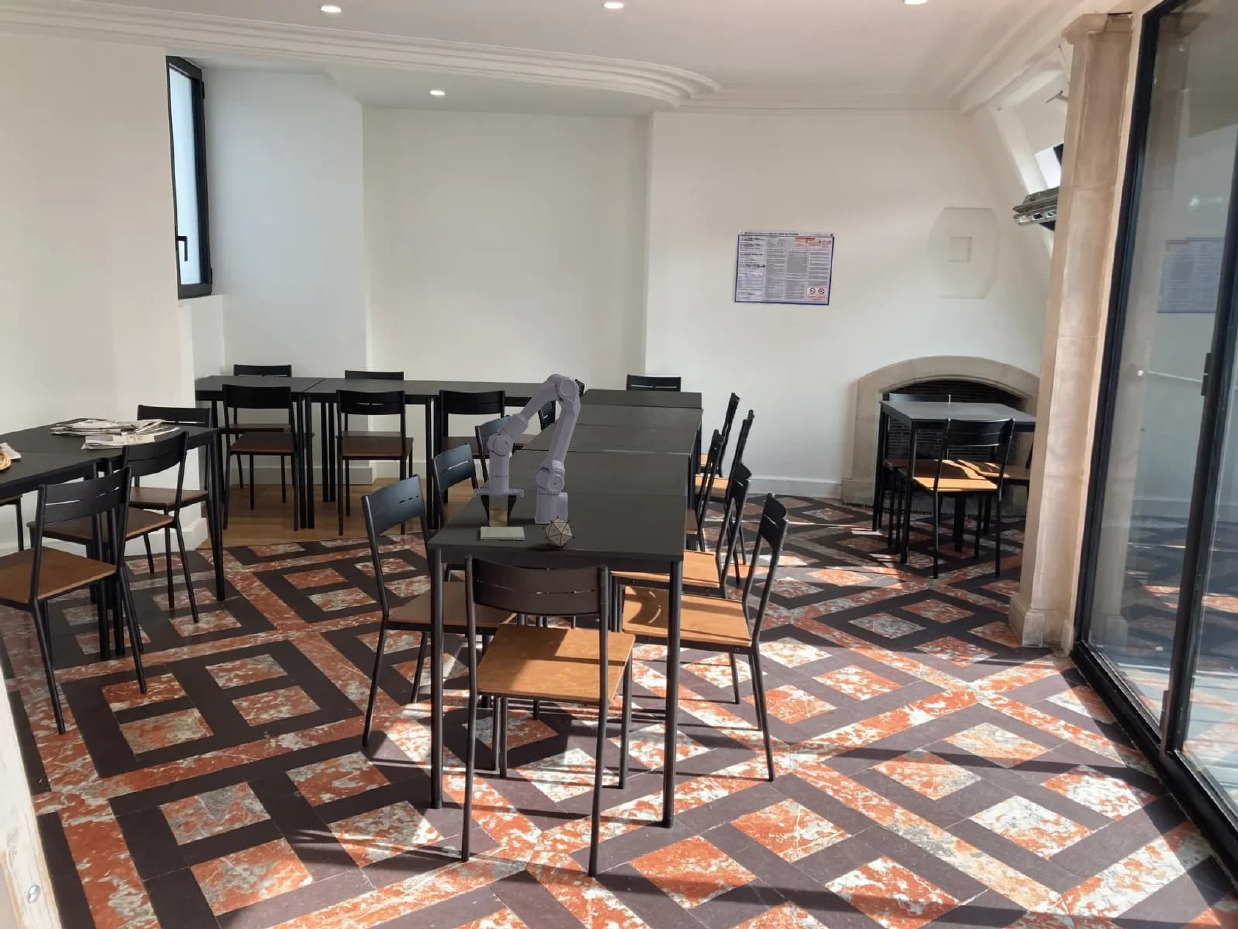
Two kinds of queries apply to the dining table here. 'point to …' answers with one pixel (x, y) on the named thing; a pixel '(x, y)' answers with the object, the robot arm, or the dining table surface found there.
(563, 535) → the game die
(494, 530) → the sage tile
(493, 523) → the maple block
